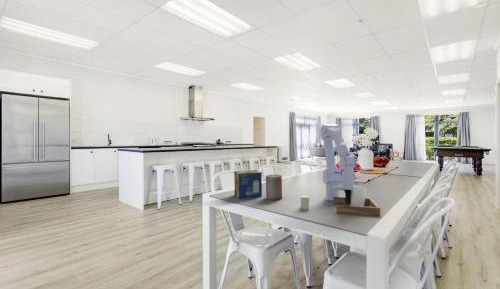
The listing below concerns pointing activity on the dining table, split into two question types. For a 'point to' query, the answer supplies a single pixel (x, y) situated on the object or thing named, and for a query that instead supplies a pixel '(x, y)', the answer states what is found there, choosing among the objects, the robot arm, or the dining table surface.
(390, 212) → the dining table surface
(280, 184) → the pillar candle
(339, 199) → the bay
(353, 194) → the white cup
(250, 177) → the protein box
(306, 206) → the block
